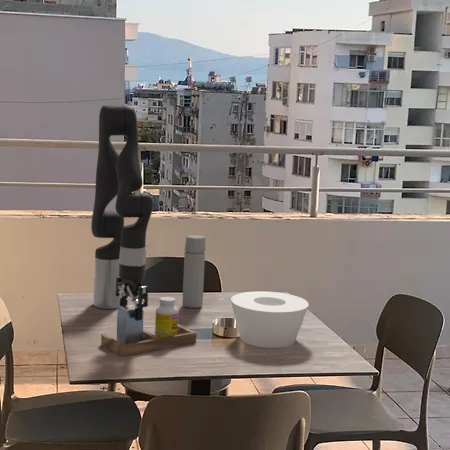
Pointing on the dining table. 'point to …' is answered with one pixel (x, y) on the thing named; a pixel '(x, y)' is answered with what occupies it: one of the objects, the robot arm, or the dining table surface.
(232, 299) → the white tapered pot
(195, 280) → the water bottle
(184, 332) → the caddy
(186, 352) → the dining table surface
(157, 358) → the dining table surface
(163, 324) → the supplement bottle
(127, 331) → the slate tin
